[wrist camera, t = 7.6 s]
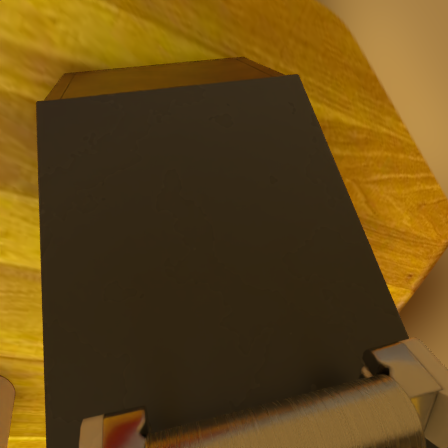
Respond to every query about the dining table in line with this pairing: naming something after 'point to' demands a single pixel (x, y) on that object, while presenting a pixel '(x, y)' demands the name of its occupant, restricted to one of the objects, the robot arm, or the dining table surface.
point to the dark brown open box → (157, 77)
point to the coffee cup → (5, 409)
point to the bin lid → (210, 273)
